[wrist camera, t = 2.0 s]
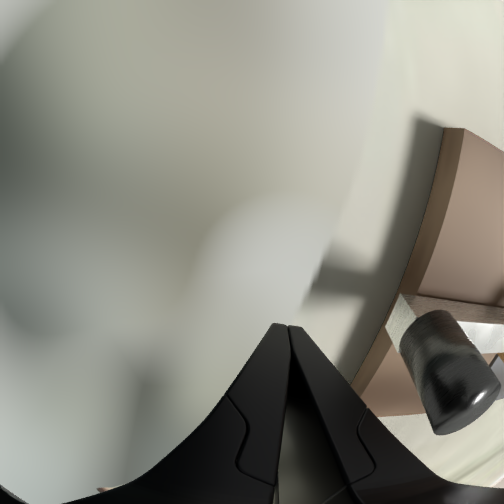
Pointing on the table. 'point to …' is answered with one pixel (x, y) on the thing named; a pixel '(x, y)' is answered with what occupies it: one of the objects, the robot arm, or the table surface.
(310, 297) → the table surface
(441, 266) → the board
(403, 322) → the steel bolt
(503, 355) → the brass keeper
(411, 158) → the table surface
